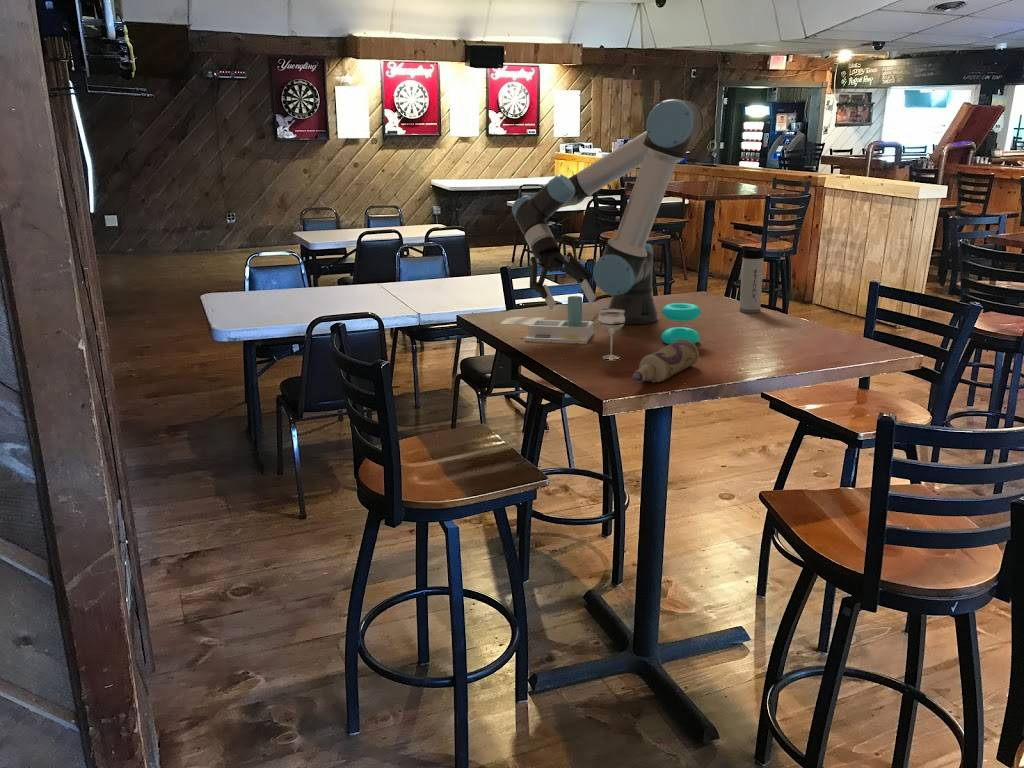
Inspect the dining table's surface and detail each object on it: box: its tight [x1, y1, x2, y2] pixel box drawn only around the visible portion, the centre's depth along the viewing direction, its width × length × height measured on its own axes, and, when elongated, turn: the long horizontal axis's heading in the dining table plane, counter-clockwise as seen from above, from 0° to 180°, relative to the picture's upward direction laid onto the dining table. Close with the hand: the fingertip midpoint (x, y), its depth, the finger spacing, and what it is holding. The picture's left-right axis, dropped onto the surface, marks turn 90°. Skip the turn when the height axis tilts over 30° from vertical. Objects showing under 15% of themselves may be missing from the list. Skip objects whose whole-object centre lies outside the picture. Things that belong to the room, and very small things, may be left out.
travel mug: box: [739, 245, 765, 314], centre depth 256 cm, size 6×7×20 cm
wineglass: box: [597, 308, 625, 361], centre depth 207 cm, size 7×7×12 cm
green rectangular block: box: [567, 295, 583, 327], centre depth 230 cm, size 4×4×10 cm
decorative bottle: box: [631, 339, 700, 383], centre depth 191 cm, size 26×8×7 cm, turn 143°
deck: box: [499, 316, 547, 326], centre depth 248 cm, size 12×10×1 cm
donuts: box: [661, 302, 702, 345], centre depth 221 cm, size 10×10×10 cm
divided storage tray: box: [524, 319, 594, 345], centre depth 230 cm, size 17×12×4 cm
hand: (573, 303), depth 230 cm, fingers open, 13 cm apart
